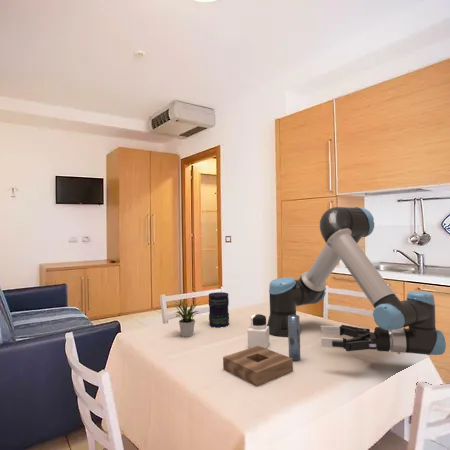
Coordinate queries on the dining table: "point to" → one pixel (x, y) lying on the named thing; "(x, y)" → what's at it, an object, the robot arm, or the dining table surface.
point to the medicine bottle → (258, 332)
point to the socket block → (258, 365)
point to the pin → (294, 337)
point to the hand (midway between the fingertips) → (320, 335)
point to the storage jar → (218, 309)
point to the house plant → (186, 319)
